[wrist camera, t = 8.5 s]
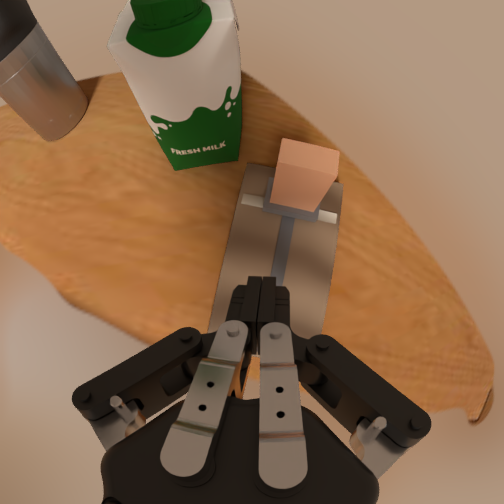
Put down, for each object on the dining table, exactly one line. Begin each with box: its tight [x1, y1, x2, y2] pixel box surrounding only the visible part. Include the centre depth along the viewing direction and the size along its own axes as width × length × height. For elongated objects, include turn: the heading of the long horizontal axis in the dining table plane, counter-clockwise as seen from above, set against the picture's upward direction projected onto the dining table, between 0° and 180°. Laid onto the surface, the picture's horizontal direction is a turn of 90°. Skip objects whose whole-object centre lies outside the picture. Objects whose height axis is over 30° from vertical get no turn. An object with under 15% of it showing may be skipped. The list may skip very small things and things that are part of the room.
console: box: [208, 163, 343, 357], centre depth 25 cm, size 18×10×2 cm, turn 168°
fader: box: [262, 138, 339, 222], centre depth 21 cm, size 3×5×8 cm, turn 78°
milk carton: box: [107, 0, 242, 171], centre depth 19 cm, size 9×9×20 cm
